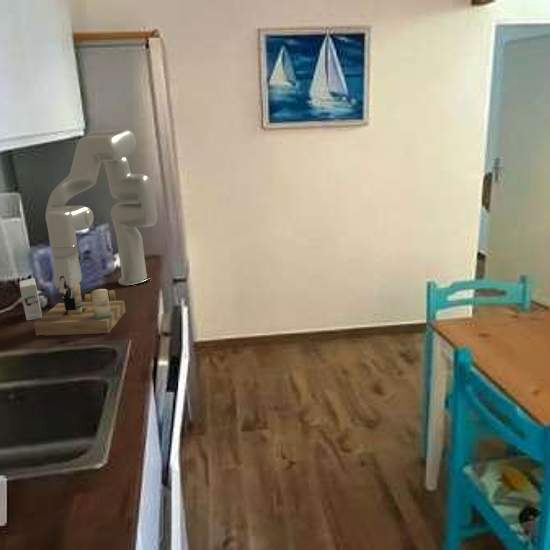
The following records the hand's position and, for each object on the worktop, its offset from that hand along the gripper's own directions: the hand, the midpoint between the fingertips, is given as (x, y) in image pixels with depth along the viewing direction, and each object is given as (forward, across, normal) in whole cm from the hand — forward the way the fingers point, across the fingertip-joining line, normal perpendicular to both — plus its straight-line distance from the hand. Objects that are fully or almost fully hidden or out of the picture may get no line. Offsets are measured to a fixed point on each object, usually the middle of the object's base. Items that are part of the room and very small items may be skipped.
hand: (74, 306), depth 163 cm
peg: (+4, 0, 0) cm, 4 cm away
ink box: (+6, -9, -18) cm, 21 cm away
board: (+6, 0, +2) cm, 6 cm away
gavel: (+7, -26, -1) cm, 27 cm away
